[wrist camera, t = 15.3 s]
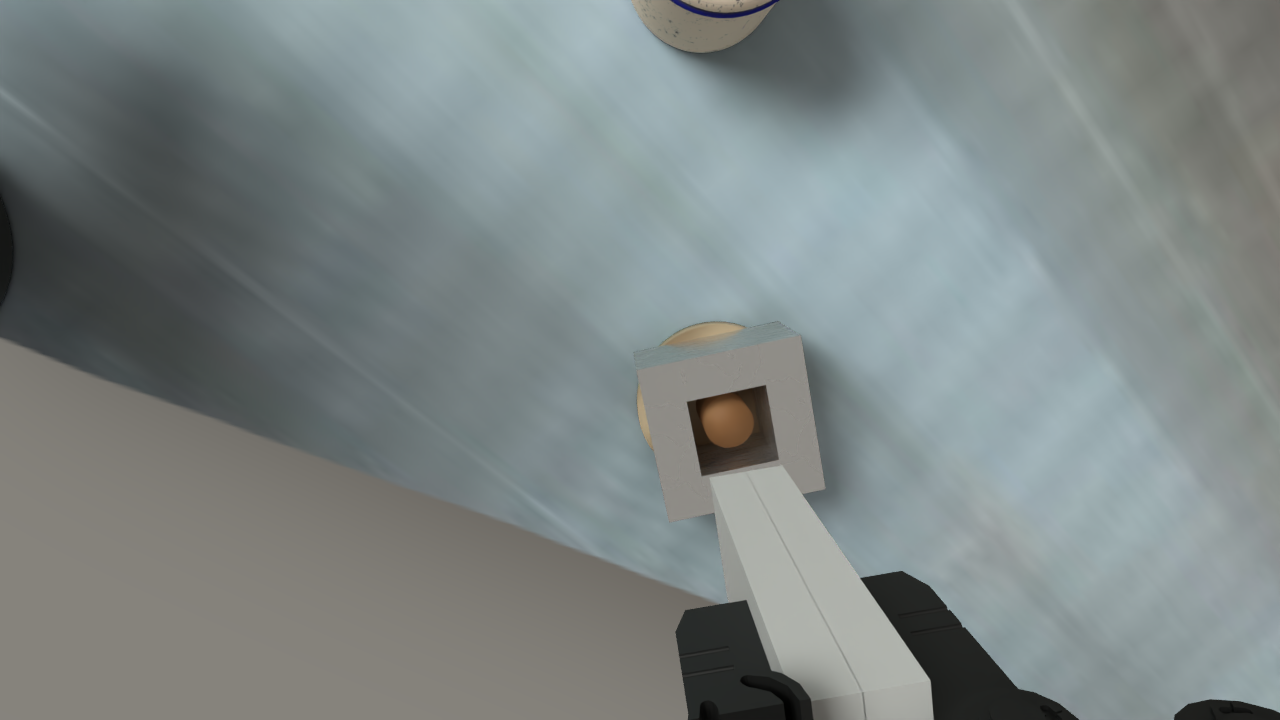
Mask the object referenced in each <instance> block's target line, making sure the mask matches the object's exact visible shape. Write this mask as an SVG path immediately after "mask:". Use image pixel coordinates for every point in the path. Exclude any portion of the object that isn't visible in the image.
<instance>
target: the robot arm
mask: <svg viewBox="0 0 1280 720" xmlns="http://www.w3.org/2000/svg"><path fill="white" fill-rule="evenodd" d="M12 259H13V249H12V237H11V231H10V226H9V222H8V218H7V214H6V211H5V208H4V206H3V203H2V201H1V198H0V304H1V302H2V300H3V298H4V296H5V293H6V291H7V288H8V284H9V281H10V276H11V270H12ZM710 485H711V491H712V498H713V505H714V511H715V518H716V525H717V531H718V538H719V545H720V551H721V558H722V565H723V571H724V578H725V585H726V591H727V598H728V601H729V603H725V604H720V605H714V606H708V607H702V608H696V609H690V610H685V612H684V614H683V617H682V619H681V621H680V623H679V625H678V628H677V630H676V638H677V644H678V650H679V656H680V663H681V670H682V676H683V683H684V688H685V695H686V701H687V708H688V714H689V715H688V720H1079V719H1078V718H1076V717H1075V716H1074V715H1073V714H1071V713H1070V712H1069V711H1068V710H1066V709H1065V708H1064V707H1063V706H1061V705H1060V704H1059V703H1057V702H1055V701H1052V700H1050V699H1048V698H1046V697H1044V696H1041V695H1039V694H1037V693H1035V692H1030V691H1025V690H1020V689H1018V688H1017V687H1016V686H1015V685H1014V684H1013V683H1012V681H1011V680H1010V679H1009V678H1008V677H1007V676H1006V674H1005V673H1004V672H1003V671H1002V670H1001V669H1000V667H999V666H998V665H997V664H996V663H995V662H994V661H993V659H992V658H991V657H990V656H989V655H988V654H987V652H986V651H985V650H984V649H983V648H982V647H981V645H980V644H979V643H978V642H977V641H976V640H975V638H974V637H973V636H972V635H971V634H970V633H969V631H968V630H967V629H966V628H965V627H964V628H963V627H962V625H961V622H960V621H959V620H958V619H957V618H956V616H955V615H954V614H953V613H952V612H951V611H950V610H948V609H947V606H946V605H945V604H944V602H943V601H942V600H941V599H940V598H939V597H938V596H937V594H936V593H935V592H934V591H933V590H932V589H931V587H930V586H928V585H927V584H925V583H923V582H921V581H919V580H917V579H916V578H914V577H912V576H910V575H908V574H906V573H905V572H903V571H899V572H893V573H887V574H881V575H875V576H869V577H864V578H860V577H859V576H858V575H857V573H856V572H855V570H854V569H853V567H852V566H851V564H850V563H849V561H848V560H847V559H846V557H845V556H844V554H843V553H842V551H841V550H840V548H839V547H838V546H837V544H836V543H835V541H834V540H833V538H832V537H831V535H830V534H829V532H828V531H827V530H826V528H825V527H824V525H823V524H822V522H821V521H820V519H819V518H818V516H817V515H816V514H815V512H814V511H813V509H812V508H811V506H810V505H809V503H808V502H807V501H806V499H805V498H804V496H803V495H802V493H801V492H800V490H799V489H798V487H797V486H796V485H795V483H794V482H793V480H792V479H791V477H790V476H789V474H788V473H787V471H786V470H785V469H784V467H783V466H776V467H770V468H764V469H758V470H752V471H746V472H740V473H734V474H729V475H723V476H717V477H711V478H710ZM1174 720H1280V713H1279V712H1276V711H1274V710H1271V709H1267V708H1264V707H1260V706H1256V705H1252V704H1248V703H1244V702H1240V701H1227V700H1211V699H1210V700H1206V701H1201V702H1196V703H1191V704H1188V705H1186V706H1185V707H1184V708H1183V709H1181V710H1180V711H1179V712H1178V713H1177V714H1175V717H1174Z"/></svg>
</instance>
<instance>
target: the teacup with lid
mask: <svg viewBox="0 0 1280 720" xmlns="http://www.w3.org/2000/svg"><path fill="white" fill-rule="evenodd" d="M631 1H632V3H633V5H634V8H635V10H636V12H637V13H638V15H639V17H640V18H641V20H642V21H643V23H644V24H645V25H646V26H647V28H648V29H649V30H650V31H651V32H652V33H653V34H654V35H656V36H657V37H658V38H659V39H661V40H662V41H664V42H665V43H667V44H669V45H671V46H673V47H675V48H678V49H681V50H684V51H689V52H696V53H708V52H715V51H719V50H723V49H726V48H728V47H731V46H733V45H735V44H737V43H738V42H740V41H742V40H743V39H744V38H746V37H747V36H748V35H749V34H751V33H752V32H753V31H754V30H755V29H756V28H757V26H758V25H759V24H760V23H761V22H762V20H763V19H764V18H765V17H766V15H767V14H768V13H769V11H770V10H771V9H772V8H773V6H774V5H775V4H776V2H778V1H779V0H631Z"/></svg>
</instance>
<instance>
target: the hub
mask: <svg viewBox="0 0 1280 720" xmlns="http://www.w3.org/2000/svg"><path fill="white" fill-rule="evenodd" d="M744 328H747V327H745V326H741V325H738V324H735V323H729V322H715V321H714V322H704V323H700V324H695V325H692V326H689V327H687V328H684V329H682V330H680V331H678V332H676V333H674V334H673V335H672V336H670V337H669V338H667V339H666V340H665V341H664V342H663V343H662V344H661V345H659V346H658V347H660V346H664V345H669V344H674V343H678V342H683V341H688V340H692V339H697V338H702V337H706V336H711V335H716V334H720V333H725V332H730V331H734V330H739V329H744ZM687 406H688V411H689V416H690V421H691V426H692V431H693V436H694V441H695V446H697V445H702V444H707V443H711V442H713V443H714V444H716V445H718V446H721V447H725V448H731V447H736V446H739V445H741V444H742V443H744V442H745V441H746V440H747V439H748V438H749V437H750V435H751V434H753V433H758V432H760V430H759V425H758V419H757V413H756V408H755V402H754V397H753V391H752V388H749V389H744V390H740V391H735V392H730V393H725V394H721V395H716V396H711V397H707V398H702V399H697V400H693V401H688V402H687ZM637 408H638V416H639V421H640V425H641V429H642V432H643V434H644V437H645V439H646V440H647V442H648V444H649V446H650V447H651V449H652V450H653V451H654V449H653V445H652V440H651V435H650V431H649V426H648V421H647V417H646V412H645V408H644V403H643V398H642V394H641V389H640V384H638V390H637Z"/></svg>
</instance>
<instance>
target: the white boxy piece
mask: <svg viewBox="0 0 1280 720" xmlns="http://www.w3.org/2000/svg"><path fill="white" fill-rule="evenodd" d="M633 353H634V359H635V365H636V370H637V375H638V380H639V384H640V389H641V394H642V398H643V403H644V408H645V412H646V417H647V421H648V426H649V431H650V435H651V440H652V445H653V449H654V454H655V459H656V463H657V468H658V472H659V477H660V482H661V486H662V491H663V496H664V500H665V505H666V509H667V514H668V519H669V522H674V521H679V520H683V519H688V518H693V517H697V516H702V515H707V514H712V513H715V511H714V505H713V498H712V491H711V485H710V478H711V477H717V476H723V475H729V474H734V473H740V472H746V471H752V470H758V469H764V468H770V467H776V466H783V467H784V469H785V470H786V471H787V473H788V474H789V476H790V477H791V479H792V480H793V482H794V483H795V485H796V486H797V487H798V489H799V490H800V492H801V493H802V494H805V493H810V492H815V491H819V490H824V489H826V488H825V482H824V476H823V470H822V464H821V457H820V451H819V445H818V439H817V433H816V426H815V420H814V414H813V408H812V401H811V395H810V389H809V383H808V377H807V370H806V364H805V358H804V352H803V346H802V339H801V335H800V334H798V333H797V332H795V331H793V330H792V329H790V328H789V327H787V326H785V325H784V324H782V323H781V322H779V321H777V322H772V323H767V324H763V325H758V326H753V327H749V328H744V329H739V330H734V331H730V332H725V333H720V334H716V335H711V336H706V337H702V338H697V339H692V340H688V341H683V342H678V343H674V344H669V345H664V346H660V347H655V348H650V349H646V350H641V351H636V352H633ZM749 388H752V391H753V397H754V402H755V408H756V413H757V419H758V425H759V430H760V432H758V433H753V434H751V435H750V437H749V438H748V439H747V440H746V441H745V442H744V443H742V444H741V445H739V446H736V447H731V448H725V447H721V446H718V445H716V444H714V443H713V442H711V443H707V444H702V445H697V446H695V441H694V436H693V431H692V426H691V421H690V416H689V411H688V406H687V402H688V401H693V400H697V399H702V398H707V397H711V396H716V395H721V394H725V393H730V392H735V391H740V390H744V389H749Z"/></svg>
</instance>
